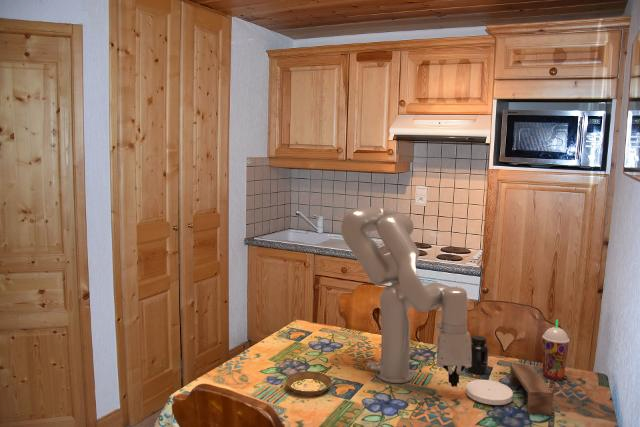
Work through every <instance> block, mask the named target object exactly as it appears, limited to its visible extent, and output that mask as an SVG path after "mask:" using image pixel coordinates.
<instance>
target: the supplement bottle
mask: <svg viewBox="0 0 640 427" xmlns="http://www.w3.org/2000/svg"><path fill="white" fill-rule="evenodd" d="M471 351H472V363H471V364H472V366H471V367H469V368H466V370H467V371H468V372H469V373H471V374H473V375H485V374H487V373H488V364H489V347H488V345H487V338H486V337H485V336H483V335H472V336H471Z"/></svg>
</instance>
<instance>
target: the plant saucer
mask: <svg viewBox="0 0 640 427" xmlns="http://www.w3.org/2000/svg"><path fill="white" fill-rule="evenodd" d="M304 379H313V380H318V381H321V382H322V383H324V384H325V385H326V388H325V389H322V390H318V391H301V390H296V389H294V388H292V387H291V385H292V384H293V383H294V382H296V381H299V380H304ZM285 384H286V385H287V387H288V389H290V390H291V391H293V393H295V394H297V393H298V394H297V395H300V394H301V395H300V396H304V395H314V396H318V394H319V395H321V394H323V393H325V392H326V391H327V390H328V389H329V388H330V387H331V386H332V384H333V380H332V378H331V377H330V376H329V375H327V374H326V373H325V374H324V373H323V372H318V371H310V370H309V371H299V372H294V373H292V374H290V375H288V376H287V377H286V378H285Z"/></svg>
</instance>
